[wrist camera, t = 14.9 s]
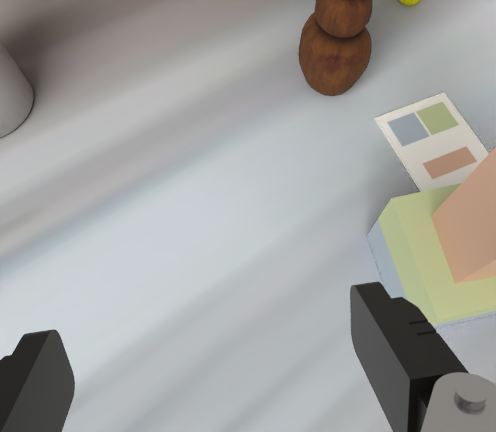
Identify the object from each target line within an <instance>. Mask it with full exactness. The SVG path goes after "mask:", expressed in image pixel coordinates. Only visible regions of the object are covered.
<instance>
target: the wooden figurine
mask: <svg viewBox="0 0 496 432" xmlns="http://www.w3.org/2000/svg"><path fill="white" fill-rule="evenodd" d="M371 12H372V0H316V6H315V12H314V13H313V14H312V15H311V16H310V17H309V19H308V20H307V22H306V23H305V25H304V27H303V29H302V34H301V39H300V46H299V62H300V66H301V69H302V71H303V74H304V76H305V78H306V81H307V82H308V84H309V85H310V86H311V87H312V88H313V89H314V90H316V91H317V92H319V93H321V94H324V95H330V96H335V95H339V94H342V93H344V92H345V91H346V90H348V89H349V88H351V87H352V86H353V85H354V83H355V82H356V81H357V80H358V79H359V78H360V77H361V75H362V74H363V72H364V71H365V69H366V68H367V65H368V62H369V59H370V54H371V38H370V34H369V32H368V31H367V29H366V27H365V26H366V24H367V23H368V22H369V19H370V17H371Z"/></svg>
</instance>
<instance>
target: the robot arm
mask: <svg viewBox="0 0 496 432" xmlns="http://www.w3.org/2000/svg"><path fill="white" fill-rule="evenodd" d="M32 104H33V90H32V87H31V85H30V83H29V82H28V81H27V79H26V78H25V76H24V75H23V73H22V72H21V71H20V69H19V68H18V65H17V64H16V62H15V61H14V60H13V58H12V57H11V55H10V54H9V53H8V51H7V50H6V48H5V47H4V46H3V44H2V43H1V42H0V137H3V136H5V135H7V134H9V133H10V132H12V131H13V130H15V129H16V128H17V127H18V126H19V125H20V124H21V123H22V122H23V121H24V120H25V118H26V117H27V116H28V114H29V112H30V110H31V108H32ZM350 301H351V335H352V341H353V345H354V349H355V352H356V354H357V356H358V358H359V360H360V363H361V365H362V367H363V369H364V371H365V373H366V375H367V377H368V379H369V382H370V384H371V386H372V388H373V390H374V392H375V394H376V396H377V398H378V401H379V403H380V405H381V407H382V409H383V411H384V413H385V415H386V417H387V420H388V422H389V424H390V426H391V428H392V430H393V432H496V385H495V384H493V383H492V382H490V381H489V380H487V379H485V378H483V377H480V376H477V375H474V374H470V373H468V371H467V370H466V369H465V367H464V366H463V365H462V363H461V362H460V361H459V360H458V358H457V357H456V356H455V354H454V353H453V352H452V350H451V349H450V348H449V347H448V345H447V344H446V343H445V341H444V340H443V339H442V337H441V336H440V335H439V334H438V333H436V330H435V328H434V327H433V326H432V325H431V323H430V322H428V319H427V318H426V317H425V315H424V314H423V313H422V312H421V310H420V309H419V308H418V307H417V306H416V305H414V304H413V303H411V302H409V301H408V300H406V299H405V298H403V297H397V298H391V297H390V296H389V294H388V293H387V291H386V290H385V288H384V287H383V286H382V284H381V283H380V282H372V283H366V284H359V285H352V286H351V290H350ZM74 389H75V382H74V375H73V371H72V368H71V366H70V363H69V360H68V357H67V354H66V351H65V349H64V346H63V343H62V340H61V337H60V335H59V333H58V332H57V331H56V330H47V331H41V332H34V333H28V334H24V335H23V336H22V338H21V340H20V341H19V343H18V345H17V347H16V348H15V350H14V352H13V354H12V355H10V356H5V357H4V358H2V359H1V360H0V432H62V429H63V426H64V423H65V420H66V417H67V414H68V411H69V408H70V405H71V402H72V399H73V396H74Z"/></svg>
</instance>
